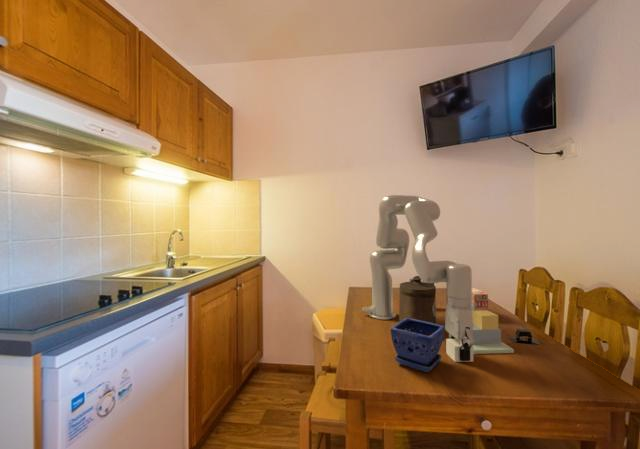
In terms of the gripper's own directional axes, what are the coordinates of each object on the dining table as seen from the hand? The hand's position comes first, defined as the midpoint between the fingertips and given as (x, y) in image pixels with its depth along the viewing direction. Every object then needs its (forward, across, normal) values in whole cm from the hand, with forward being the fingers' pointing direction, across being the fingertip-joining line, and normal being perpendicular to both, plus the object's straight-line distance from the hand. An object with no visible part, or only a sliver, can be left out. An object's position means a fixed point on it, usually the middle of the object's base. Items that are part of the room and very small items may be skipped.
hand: (459, 355), depth 95 cm
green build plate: (+1, -10, +13) cm, 16 cm away
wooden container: (+1, -27, -4) cm, 27 cm away
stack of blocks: (+1, -44, +28) cm, 52 cm away
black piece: (+1, -11, +30) cm, 32 cm away
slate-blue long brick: (-1, -10, +13) cm, 16 cm away
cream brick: (+1, 0, 0) cm, 1 cm away
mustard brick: (-6, -10, +15) cm, 19 cm away
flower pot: (+1, +3, -15) cm, 15 cm away
